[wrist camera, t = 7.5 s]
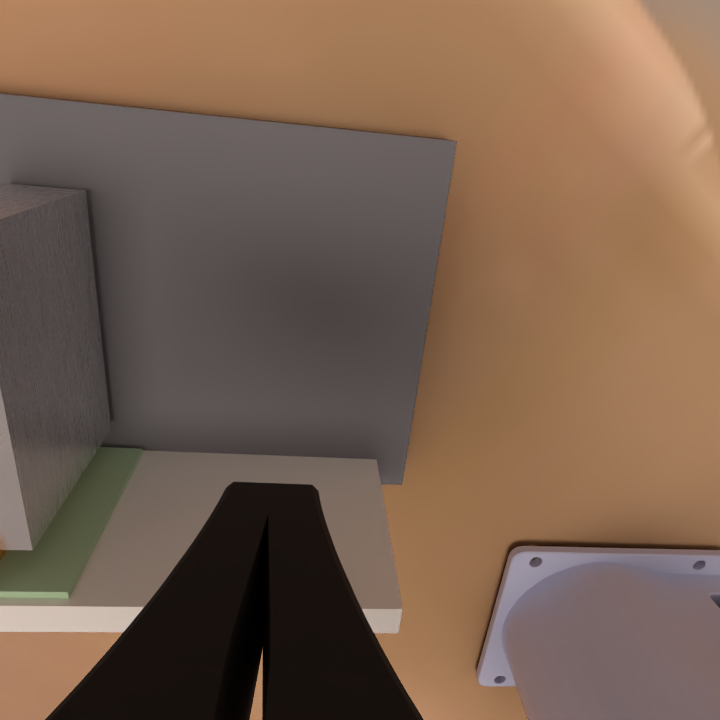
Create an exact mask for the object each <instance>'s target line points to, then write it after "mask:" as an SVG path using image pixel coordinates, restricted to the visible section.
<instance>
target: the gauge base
mask: <svg viewBox="0 0 720 720" xmlns="http://www.w3.org/2000/svg"><path fill="white" fill-rule="evenodd" d="M455 149H456V141H452V140H447V139H438V138H428V137H418V136H409V135H399V134H390V133H380V132H371V131H361V130H351V129H342V128H332V127H323V126H313V125H304V124H294V123H284V122H275V121H265V120H256V119H246V118H237V117H227V116H217V115H208V114H198V113H189V112H179V111H170V110H160V109H150V108H141V107H131V106H122V105H112V104H103V103H93V102H83V101H74V100H64V99H55V98H45V97H36V96H26V95H16V94H7V93H0V183H8V184H19V185H31V186H42V187H53V188H65V189H76V190H86V200H87V209H88V218H89V228H90V237H91V246H92V256H93V265H94V274H95V284H96V293H97V302H98V312H99V321H100V330H101V340H102V349H103V358H104V368H105V377H106V386H107V396H108V405H109V414H110V424H111V430H110V432H109V433H108V435H107V436H106V438H105V439H104V441H103V442H102V444H101V446H100V447H99V449H98V450H97V452H96V453H95V455H94V456H93V458H92V459H91V461H90V463H89V464H88V466H87V467H86V469H85V470H84V472H83V473H82V475H81V476H80V478H79V480H78V481H77V483H76V484H75V486H74V487H73V489H72V490H71V492H70V493H69V495H68V497H67V498H66V500H65V501H64V503H63V504H62V506H61V507H60V509H59V510H58V512H57V514H56V515H55V517H54V518H53V520H52V521H51V523H50V524H49V526H48V527H47V529H46V531H45V532H44V534H43V535H42V537H41V538H40V540H39V541H38V543H37V544H36V546H35V547H34V549H33V550H8V551H7V552H6V554H5V555H4V557H3V558H2V559H1V561H0V632H124V631H125V630H126V629H127V627H128V626H129V625H130V624H131V623H132V621H133V620H134V619H135V618H136V616H137V615H138V614H139V613H140V612H141V610H142V609H143V608H144V607H145V605H146V604H147V603H148V602H149V601H150V599H151V598H152V597H153V596H154V594H155V593H156V592H157V590H158V589H159V588H160V587H161V585H162V584H163V583H164V581H165V580H166V578H167V577H168V576H169V574H170V573H171V572H172V570H173V569H174V567H175V566H176V565H177V563H178V562H179V561H180V559H181V558H182V556H183V555H184V554H185V552H186V551H187V550H188V548H189V547H190V545H191V544H192V543H193V541H194V540H195V538H196V537H197V535H198V534H199V532H200V531H201V529H202V528H203V526H204V525H205V523H206V521H207V520H208V518H209V517H210V515H211V513H212V512H213V510H214V508H215V507H216V505H217V503H218V502H219V500H220V498H221V496H222V494H223V492H224V490H225V489H226V487H227V486H229V485H230V484H231V483H232V482H257V483H283V484H310V485H313V486H314V487H315V488H316V489H317V490H318V491H319V497H320V502H321V506H322V510H323V514H324V517H325V520H326V524H327V527H328V530H329V533H330V535H331V538H332V541H333V544H334V547H335V549H336V552H337V554H338V557H339V559H340V562H341V564H342V566H343V569H344V571H345V573H346V575H347V578H348V580H349V582H350V584H351V587H352V589H353V591H354V593H355V596H356V598H357V600H358V602H359V604H360V606H361V608H362V610H363V613H364V615H365V617H366V619H367V621H368V623H369V625H370V627H371V628H372V630H373V632H374V633H398V632H399V626H400V621H401V615H402V610H403V609H402V603H401V597H400V591H399V586H398V580H397V574H396V568H395V563H394V557H393V551H392V545H391V540H390V534H389V528H388V522H387V517H386V511H385V505H384V499H383V494H382V488H381V484H397V485H402V482H403V476H404V470H405V463H406V457H407V451H408V445H409V438H410V432H411V426H412V419H413V413H414V407H415V400H416V394H417V388H418V382H419V375H420V369H421V363H422V356H423V350H424V344H425V338H426V331H427V325H428V319H429V312H430V306H431V300H432V293H433V287H434V281H435V275H436V268H437V262H438V256H439V249H440V243H441V237H442V231H443V224H444V218H445V212H446V205H447V199H448V193H449V187H450V180H451V174H452V168H453V161H454V155H455Z"/></svg>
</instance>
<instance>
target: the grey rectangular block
mask: <svg viewBox="0 0 720 720" xmlns="http://www.w3.org/2000/svg"><path fill="white" fill-rule="evenodd" d="M110 430H111V424H110V414H109V405H108V396H107V386H106V377H105V368H104V358H103V349H102V340H101V330H100V321H99V312H98V302H97V293H96V284H95V274H94V265H93V256H92V246H91V237H90V228H89V218H88V209H87V200H86V190H76V189H65V188H53V187H42V186H31V185H19V184H8V183H0V561H1V559H2V558H3V557H4V555H5V554H6V552H7V551H8V550H33V549H34V547H35V546H36V544H37V543H38V541H39V540H40V538H41V537H42V535H43V534H44V532H45V531H46V529H47V527H48V526H49V524H50V523H51V521H52V520H53V518H54V517H55V515H56V514H57V512H58V510H59V509H60V507H61V506H62V504H63V503H64V501H65V500H66V498H67V497H68V495H69V493H70V492H71V490H72V489H73V487H74V486H75V484H76V483H77V481H78V480H79V478H80V476H81V475H82V473H83V472H84V470H85V469H86V467H87V466H88V464H89V463H90V461H91V459H92V458H93V456H94V455H95V453H96V452H97V450H98V449H99V447H100V446H101V444H102V442H103V441H104V439H105V438H106V436H107V435H108V433H109V432H110Z"/></svg>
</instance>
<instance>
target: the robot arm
mask: <svg viewBox="0 0 720 720" xmlns="http://www.w3.org/2000/svg"><path fill="white" fill-rule="evenodd" d="M535 557H537V558H535ZM533 558H535V559H533ZM531 559H532V560H531ZM262 648H263V717H262V720H423V718H422V716H421V715H420V713H419V711H418V710H417V708H416V707H415V705H414V703H413V702H412V700H411V698H410V697H409V695H408V694H407V692H406V690H405V689H404V687H403V685H402V683H401V682H400V680H399V678H398V676H397V675H396V673H395V671H394V669H393V668H392V666H391V664H390V662H389V660H388V659H387V657H386V655H385V653H384V651H383V649H382V648H381V646H380V644H379V642H378V640H377V638H376V636H375V634H374V632H373V630H372V628H371V627H370V625H369V623H368V621H367V619H366V617H365V615H364V613H363V610H362V608H361V606H360V604H359V602H358V600H357V598H356V596H355V593H354V591H353V589H352V587H351V584H350V582H349V580H348V578H347V575H346V573H345V571H344V569H343V566H342V564H341V562H340V559H339V557H338V554H337V552H336V549H335V547H334V544H333V541H332V538H331V535H330V533H329V530H328V527H327V524H326V520H325V517H324V514H323V510H322V506H321V502H320V497H319V491H318V490H317V489H316V488H315V487H314V486H313V485H310V484H283V483H257V482H232V483H231V484H230V485H229V486H227V487H226V489H225V490H224V492H223V494H222V496H221V498H220V500H219V502H218V503H217V505H216V507H215V508H214V510H213V512H212V513H211V515H210V517H209V518H208V520H207V521H206V523H205V525H204V526H203V528H202V529H201V531H200V532H199V534H198V535H197V537H196V538H195V540H194V541H193V543H192V544H191V545H190V547H189V548H188V550H187V551H186V552H185V554H184V555H183V556H182V558H181V559H180V561H179V562H178V563H177V565H176V566H175V567H174V569H173V570H172V572H171V573H170V574H169V576H168V577H167V578H166V580H165V581H164V583H163V584H162V585H161V587H160V588H159V589H158V590H157V592H156V593H155V594H154V596H153V597H152V598H151V599H150V601H149V602H148V603H147V604H146V605H145V607H144V608H143V609H142V610H141V612H140V613H139V614H138V615H137V616H136V618H135V619H134V620H133V621H132V623H131V624H130V625H129V626H128V627H127V629H126V630H125V631H124V632H123V634H122V635H121V636H120V637H119V638H118V640H117V641H116V642H115V643H114V644H113V646H112V647H111V648H110V649H109V650H108V651H107V653H106V654H105V655H104V656H103V657H102V658H101V659H100V661H99V662H98V663H97V664H96V665H95V666H94V667H93V669H92V670H91V671H90V672H89V673H88V674H87V675H86V676H85V677H84V679H83V680H82V681H81V682H80V683H79V684H78V685H77V686H76V687H75V688H74V690H73V691H72V692H71V693H70V694H69V695H68V696H67V697H66V698H65V699H64V700H63V701H62V702H61V703H60V704H59V706H58V707H57V708H56V709H55V710H54V711H53V712H52V713H51V714H50V715H49V716H48V717H47V718H46V719H45V720H249V719H250V713H251V708H252V703H253V697H254V692H255V686H256V681H257V675H258V670H259V665H260V659H261V654H262ZM476 676H477V679H478V682H479V684H481V685H483V686H516V687H517V690H518V692H519V695H520V698H521V701H522V704H523V707H524V710H525V713H526V715H527V718H528V720H720V550H688V549H642V548H597V547H551V546H519V547H516V548H514V549H513V550H512V551H511V552H510V554H509V556H508V560H507V563H506V567H505V571H504V574H503V578H502V581H501V585H500V589H499V592H498V596H497V599H496V603H495V607H494V610H493V614H492V618H491V621H490V625H489V628H488V632H487V636H486V639H485V643H484V646H483V650H482V654H481V657H480V661H479V665H478V668H477V672H476Z"/></svg>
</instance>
